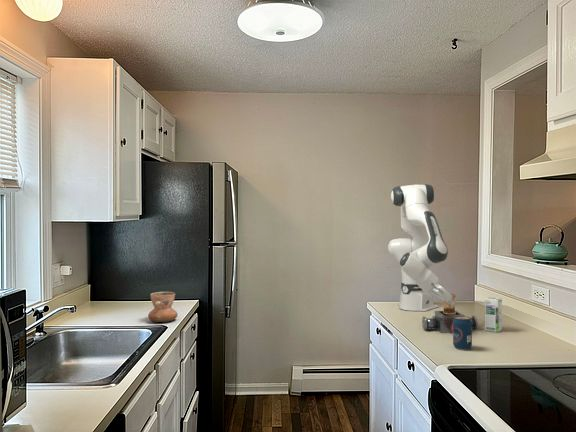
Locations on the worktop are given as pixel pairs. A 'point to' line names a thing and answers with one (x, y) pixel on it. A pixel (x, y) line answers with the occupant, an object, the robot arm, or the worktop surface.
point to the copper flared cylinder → (449, 307)
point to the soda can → (462, 332)
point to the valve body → (444, 322)
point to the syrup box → (493, 314)
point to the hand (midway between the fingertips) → (450, 303)
